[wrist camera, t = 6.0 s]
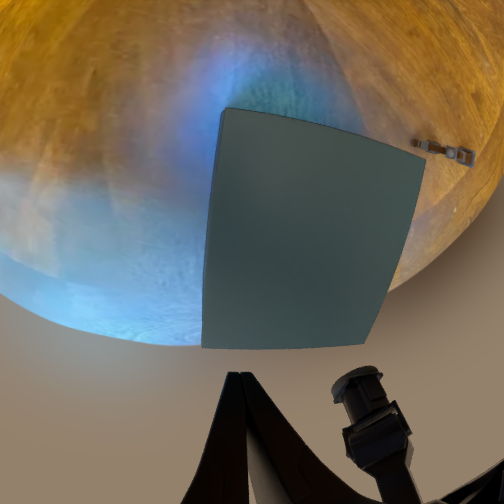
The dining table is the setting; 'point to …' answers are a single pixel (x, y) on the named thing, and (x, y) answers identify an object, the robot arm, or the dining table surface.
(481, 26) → the dining table surface
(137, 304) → the dining table surface
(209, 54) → the dining table surface
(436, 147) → the toy rocket launcher
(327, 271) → the lid
